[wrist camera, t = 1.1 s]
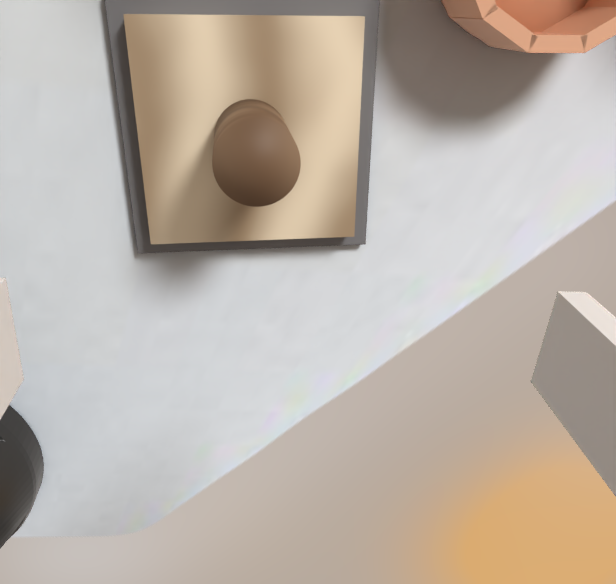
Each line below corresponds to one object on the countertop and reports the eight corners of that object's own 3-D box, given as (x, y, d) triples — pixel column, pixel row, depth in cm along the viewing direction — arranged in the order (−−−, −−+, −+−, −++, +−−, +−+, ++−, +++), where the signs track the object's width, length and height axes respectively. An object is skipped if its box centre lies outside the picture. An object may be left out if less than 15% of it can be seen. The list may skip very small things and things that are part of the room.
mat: (139, 249, 35) (138, 253, 35) (105, -9, 29) (103, -9, 28) (363, 240, 37) (365, 244, 36) (376, -5, 31) (379, -5, 30)
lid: (153, 237, 34) (136, 289, 28) (127, 14, 29) (99, 16, 23) (350, 229, 36) (377, 278, 29) (360, 16, 30) (396, 18, 24)
